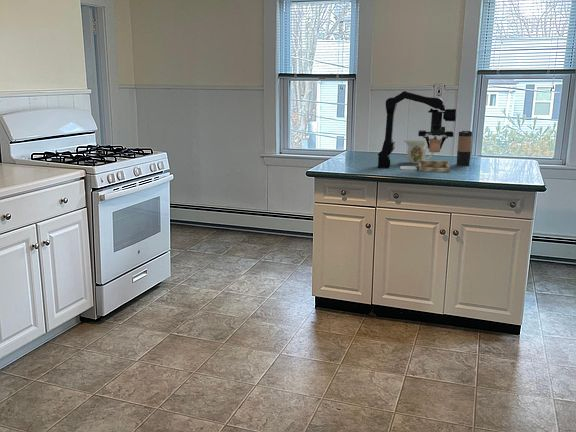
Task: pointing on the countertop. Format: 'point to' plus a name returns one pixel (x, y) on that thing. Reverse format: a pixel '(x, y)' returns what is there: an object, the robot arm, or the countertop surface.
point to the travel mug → (464, 148)
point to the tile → (408, 168)
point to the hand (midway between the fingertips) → (434, 149)
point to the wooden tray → (433, 166)
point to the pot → (434, 144)
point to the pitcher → (416, 151)
